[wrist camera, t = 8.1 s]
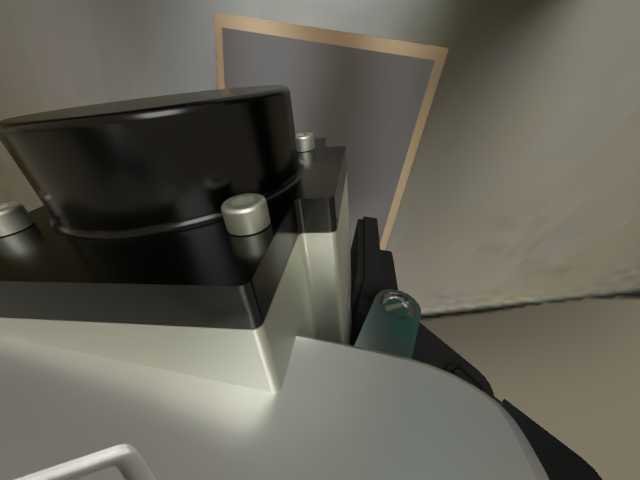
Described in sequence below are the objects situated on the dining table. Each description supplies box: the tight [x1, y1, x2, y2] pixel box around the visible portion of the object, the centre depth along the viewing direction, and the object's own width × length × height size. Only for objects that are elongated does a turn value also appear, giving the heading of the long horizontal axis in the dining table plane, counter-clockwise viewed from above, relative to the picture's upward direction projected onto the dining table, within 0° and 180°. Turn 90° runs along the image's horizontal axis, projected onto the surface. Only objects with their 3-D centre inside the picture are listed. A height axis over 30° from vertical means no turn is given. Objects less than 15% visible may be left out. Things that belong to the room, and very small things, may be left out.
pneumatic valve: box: [0, 85, 352, 393], centre depth 9 cm, size 6×12×12 cm, turn 5°
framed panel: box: [214, 12, 449, 251], centre depth 17 cm, size 10×15×3 cm, turn 172°
